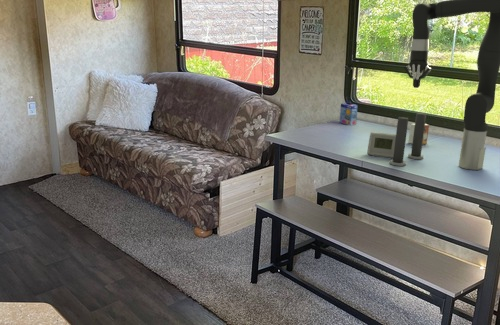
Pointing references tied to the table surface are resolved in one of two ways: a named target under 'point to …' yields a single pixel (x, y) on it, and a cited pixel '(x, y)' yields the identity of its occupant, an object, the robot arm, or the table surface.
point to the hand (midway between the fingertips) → (416, 87)
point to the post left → (400, 142)
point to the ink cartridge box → (348, 113)
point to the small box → (423, 135)
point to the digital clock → (381, 144)
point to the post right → (418, 136)
